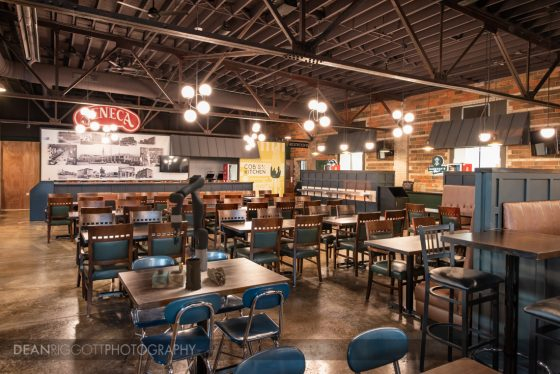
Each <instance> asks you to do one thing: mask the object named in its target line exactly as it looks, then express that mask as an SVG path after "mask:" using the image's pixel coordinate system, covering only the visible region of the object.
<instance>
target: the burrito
mask: <svg viewBox="0 0 560 374" xmlns="http://www.w3.org/2000/svg"><path fill="white" fill-rule="evenodd" d="M206 273H207V274H206V275H207V277H208V278H209V279H211V280H212V281H213V282H214V283H216V284H217V285H218V286H220V287H222V286H225V285H226V282H227V273H226V271H225V268H224V267H223V266H219V267H217V268H214V267H212V268H209V267H207V271H206Z"/></svg>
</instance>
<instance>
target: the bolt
mask: <svg viewBox="0 0 560 374" xmlns="http://www.w3.org/2000/svg"><path fill="white" fill-rule="evenodd" d="M183 270H184V262H178V269H171V270H169V274H170V273H171V272H172V271H182V272H183Z"/></svg>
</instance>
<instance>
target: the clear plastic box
mask: <svg viewBox="0 0 560 374" xmlns="http://www.w3.org/2000/svg"><path fill="white" fill-rule="evenodd" d="M151 280H152V281H151V283H152V284H151V286H152V287H151V288H152V289H164V288H167V289H168V288H169V289H170V288H183V287H185V286H184V285H185V283H186V269H183V272H182V271H172V272H171V273H170V270H164V268H163V267H162V268H158V269H157V270H156V271H154V273H153V275H152V276H151Z"/></svg>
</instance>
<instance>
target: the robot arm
mask: <svg viewBox="0 0 560 374" xmlns="http://www.w3.org/2000/svg"><path fill="white" fill-rule="evenodd" d="M204 186H205V179H204V177H203V176H190V177H189V180H188V184H187V185H185V186H182V187H181V188H180V189H179V190H176V191H174V192H171V193H170V194H169V196H168V202H169V203H170V204H175V206H172V207H171V210H170V211H171V212H170V213H171V214H170V229H172V230H173V231H172V233H173V234H172V236H173V237H172V239H173V245H174V246H177V245H178V244H179V243H180V236H181V235H180V234H181V232H180V231H181V230H180V229H181V228H182V227H183V219H182V218H183V216H182V209H183V204H184V203H185V202H184V201H185V199H186V197H188V196H190V197H191V209H192V210H191V211H192V220H193V221H192V222H193V228H192V229H193V237H194V239H195V240H196V241H198V242H197V244H196V245H195V258H200V259H201V265H200V267H201V272H207V271H206V270H207V269H208V246H209V231H208V230H207V229H205V228H203V224H202V222H203V217H204V215H205V204H204V202H203V200H202V199H201V197H200V196H199V194H198V191H197V190H199V189H201V188H204Z"/></svg>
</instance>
